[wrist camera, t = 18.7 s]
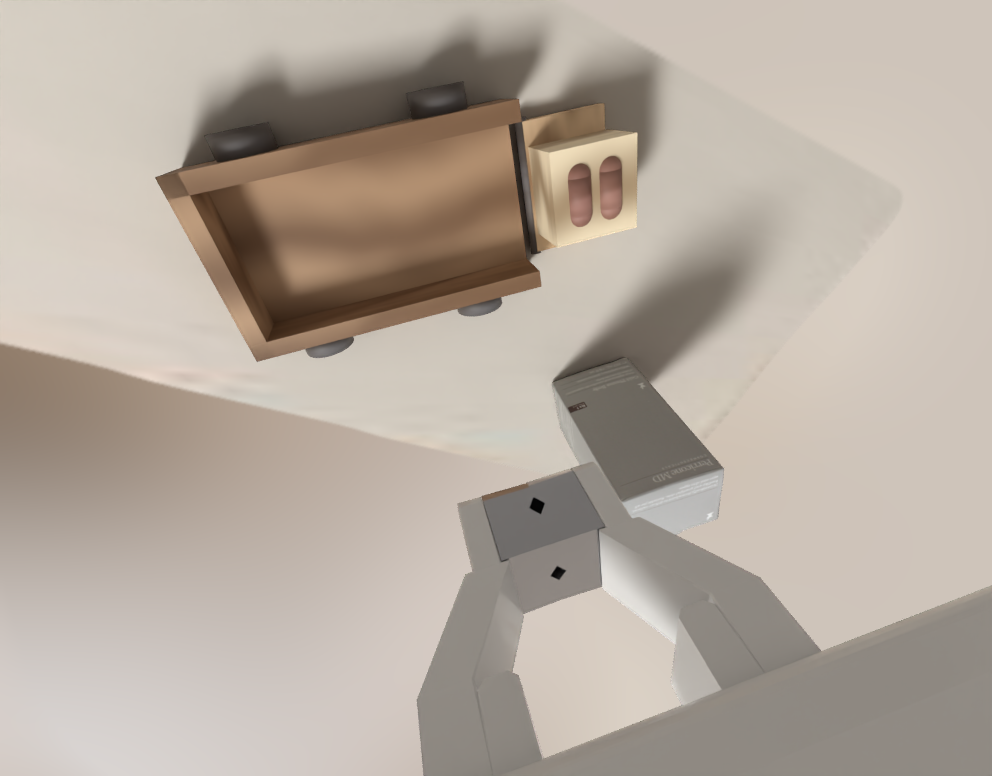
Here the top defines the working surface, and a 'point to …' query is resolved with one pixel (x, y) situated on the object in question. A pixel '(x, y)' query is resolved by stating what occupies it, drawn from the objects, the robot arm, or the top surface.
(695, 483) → the skincare box
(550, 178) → the block
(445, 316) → the top surface
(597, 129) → the tailgate
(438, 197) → the cart bed
